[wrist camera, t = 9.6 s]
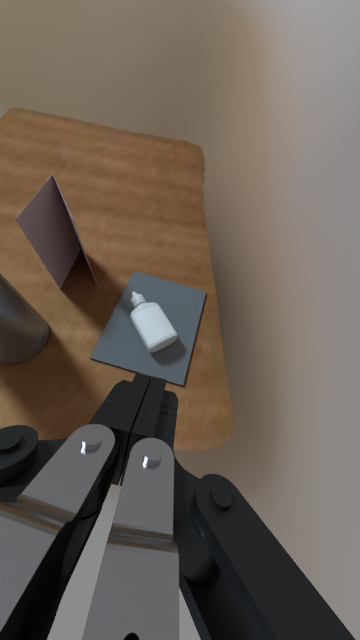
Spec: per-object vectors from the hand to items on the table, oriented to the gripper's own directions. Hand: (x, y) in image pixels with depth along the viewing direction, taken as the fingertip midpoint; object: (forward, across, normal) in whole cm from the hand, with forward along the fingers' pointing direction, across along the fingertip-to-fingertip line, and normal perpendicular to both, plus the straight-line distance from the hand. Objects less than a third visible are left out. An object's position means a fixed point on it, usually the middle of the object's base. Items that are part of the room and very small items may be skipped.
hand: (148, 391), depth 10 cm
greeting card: (+34, +21, -1) cm, 40 cm away
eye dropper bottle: (+23, +1, +7) cm, 24 cm away
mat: (+28, +4, +5) cm, 29 cm away
